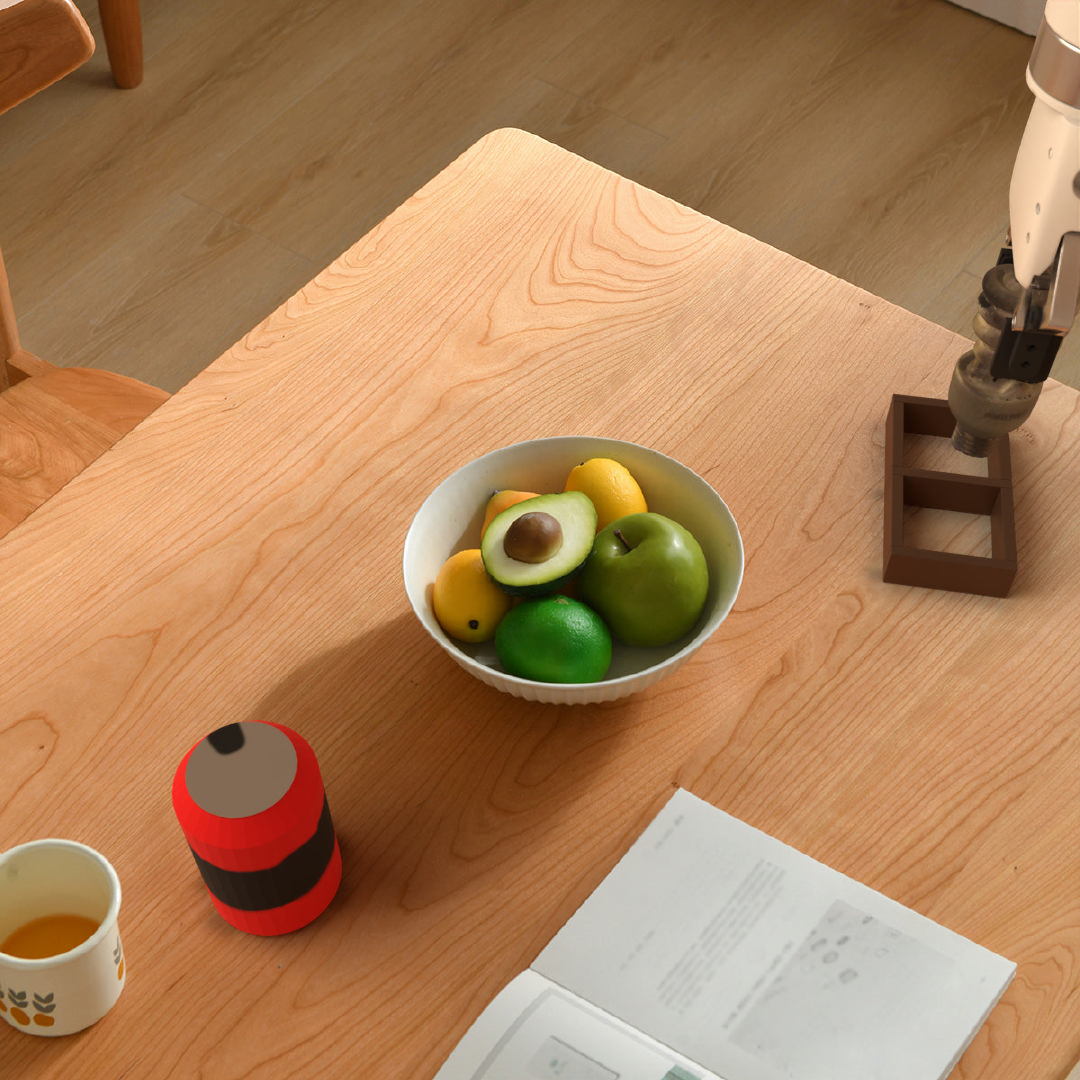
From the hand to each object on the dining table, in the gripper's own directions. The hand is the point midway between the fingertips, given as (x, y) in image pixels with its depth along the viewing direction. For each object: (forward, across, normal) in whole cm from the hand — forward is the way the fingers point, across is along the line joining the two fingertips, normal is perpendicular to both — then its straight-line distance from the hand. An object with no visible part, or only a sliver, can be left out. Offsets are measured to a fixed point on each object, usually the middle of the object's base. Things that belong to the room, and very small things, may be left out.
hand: (1015, 338), depth 80 cm
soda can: (+19, -32, +38) cm, 53 cm away
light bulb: (+10, 0, 0) cm, 10 cm away
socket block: (+19, +4, 0) cm, 19 cm away
